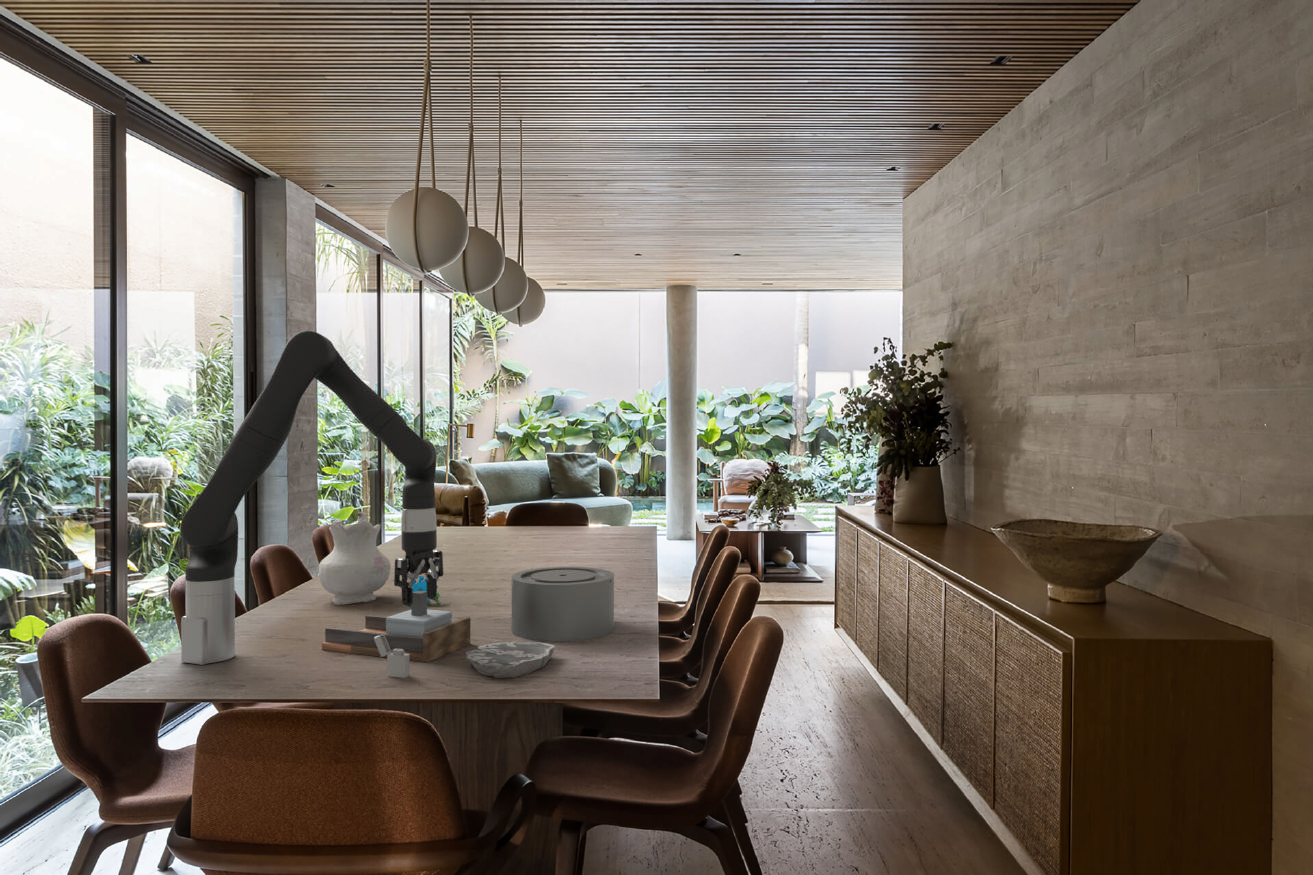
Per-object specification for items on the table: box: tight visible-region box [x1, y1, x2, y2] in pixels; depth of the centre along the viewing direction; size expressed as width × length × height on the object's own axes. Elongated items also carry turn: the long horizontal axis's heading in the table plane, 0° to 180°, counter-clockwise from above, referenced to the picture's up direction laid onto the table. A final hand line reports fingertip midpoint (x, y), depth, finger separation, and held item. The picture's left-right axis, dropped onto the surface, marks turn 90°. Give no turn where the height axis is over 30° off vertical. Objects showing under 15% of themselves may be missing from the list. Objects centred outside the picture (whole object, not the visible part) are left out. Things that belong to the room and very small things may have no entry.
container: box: [511, 566, 615, 643], centre depth 199 cm, size 25×25×13 cm
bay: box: [321, 614, 471, 663], centre depth 183 cm, size 16×28×6 cm, turn 69°
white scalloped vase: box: [318, 510, 392, 606], centre depth 234 cm, size 22×20×25 cm
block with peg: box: [385, 591, 453, 638], centre depth 181 cm, size 10×10×11 cm
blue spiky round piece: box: [409, 575, 441, 607], centre depth 229 cm, size 11×6×10 cm
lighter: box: [374, 634, 411, 679], centre depth 161 cm, size 7×2×8 cm, turn 75°
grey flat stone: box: [464, 640, 555, 679], centre depth 168 cm, size 20×17×3 cm
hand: (419, 601), depth 181 cm, fingers open, 8 cm apart
